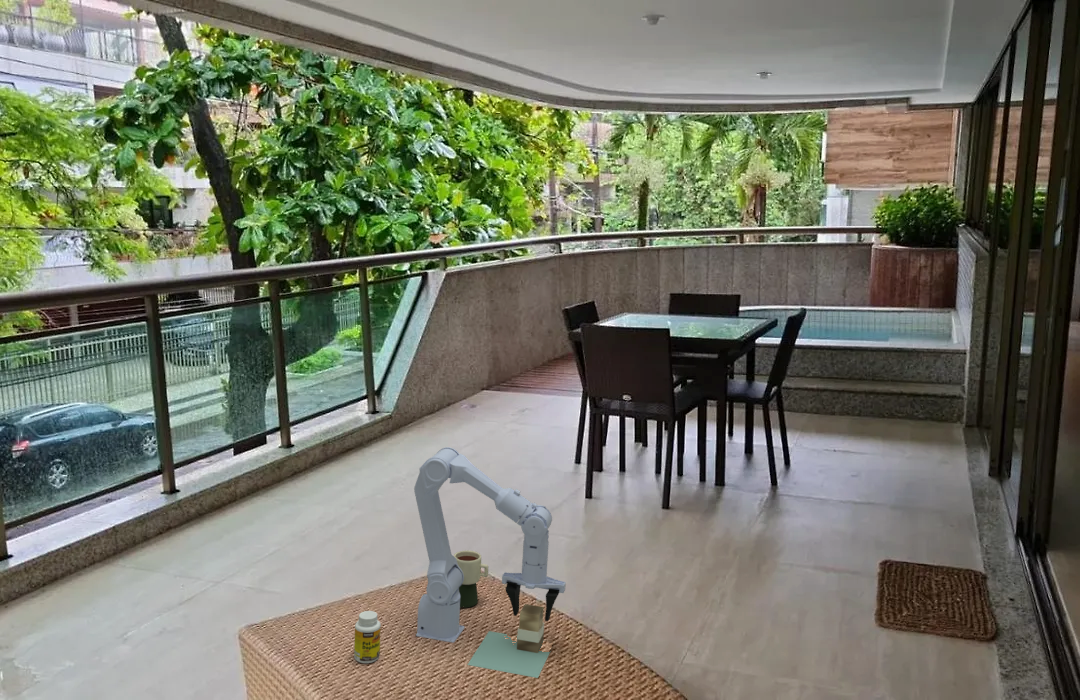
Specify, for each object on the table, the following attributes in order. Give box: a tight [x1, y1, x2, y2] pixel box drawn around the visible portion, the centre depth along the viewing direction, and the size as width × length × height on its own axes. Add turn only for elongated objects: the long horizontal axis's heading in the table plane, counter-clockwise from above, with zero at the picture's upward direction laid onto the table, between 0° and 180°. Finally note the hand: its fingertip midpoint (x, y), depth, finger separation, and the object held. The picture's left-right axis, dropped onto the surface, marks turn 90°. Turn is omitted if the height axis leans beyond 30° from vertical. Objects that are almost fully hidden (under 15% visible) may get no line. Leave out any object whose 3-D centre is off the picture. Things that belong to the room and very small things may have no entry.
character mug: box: [453, 549, 489, 608], centre depth 214 cm, size 11×7×13 cm, turn 82°
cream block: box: [516, 622, 545, 643], centre depth 194 cm, size 5×5×2 cm
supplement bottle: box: [353, 610, 382, 664], centre depth 186 cm, size 6×6×10 cm
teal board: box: [467, 630, 551, 679], centre depth 191 cm, size 16×16×1 cm
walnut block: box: [517, 632, 545, 653], centre depth 195 cm, size 5×5×2 cm
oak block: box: [518, 603, 545, 632], centre depth 194 cm, size 4×4×4 cm
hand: (531, 616), depth 194 cm, fingers open, 7 cm apart
